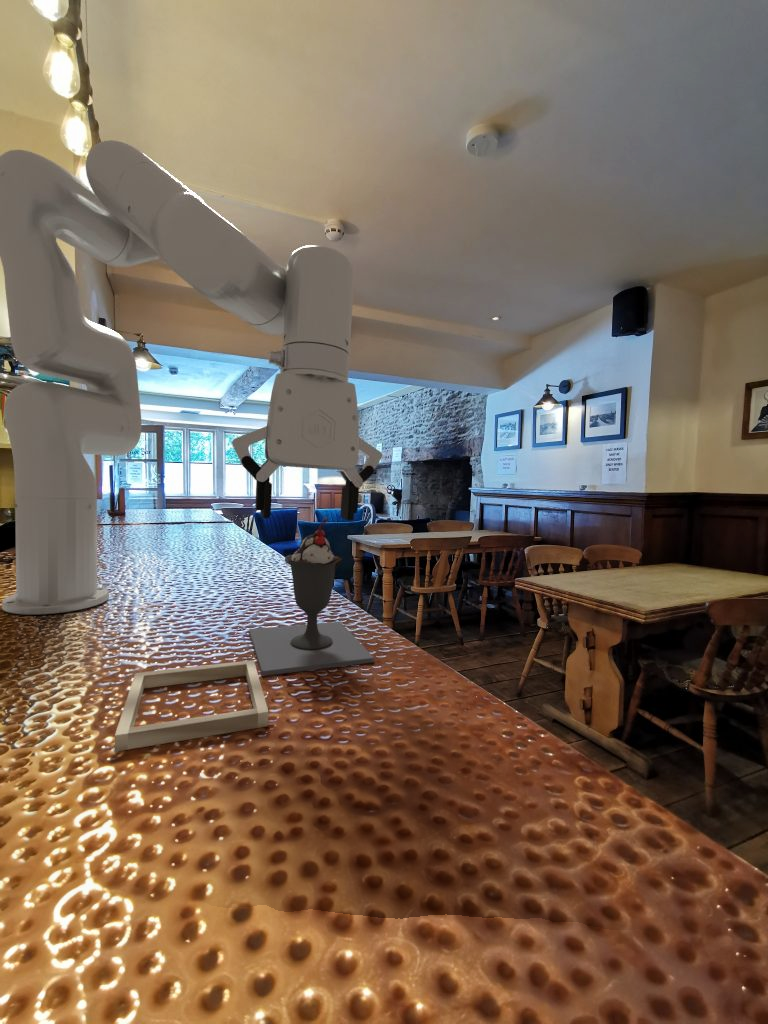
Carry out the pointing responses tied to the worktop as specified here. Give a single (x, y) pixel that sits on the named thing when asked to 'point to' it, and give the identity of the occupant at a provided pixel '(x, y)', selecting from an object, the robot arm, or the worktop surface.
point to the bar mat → (286, 658)
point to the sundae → (313, 585)
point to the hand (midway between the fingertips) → (307, 518)
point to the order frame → (190, 727)
